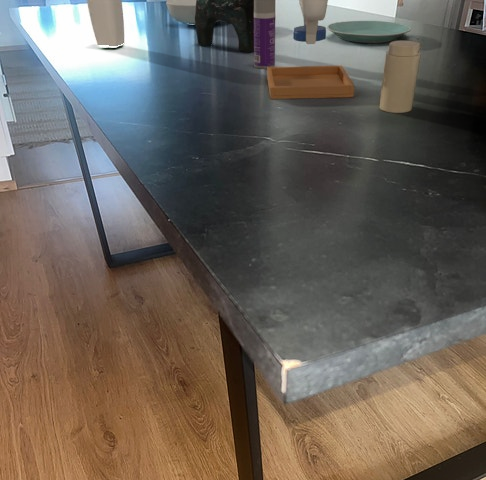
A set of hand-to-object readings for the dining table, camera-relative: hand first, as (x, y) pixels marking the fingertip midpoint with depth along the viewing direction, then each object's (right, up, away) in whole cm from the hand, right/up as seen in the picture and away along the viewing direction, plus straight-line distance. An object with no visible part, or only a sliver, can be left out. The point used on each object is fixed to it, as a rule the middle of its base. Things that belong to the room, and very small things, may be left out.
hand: (309, 39), depth 100 cm
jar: (+14, -15, -7) cm, 22 cm away
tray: (0, -7, +5) cm, 9 cm away
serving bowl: (-26, +37, +67) cm, 81 cm away
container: (-8, +3, +20) cm, 22 cm away
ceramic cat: (-17, +15, +36) cm, 43 cm away
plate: (+21, +21, +43) cm, 52 cm away
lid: (0, +1, -1) cm, 2 cm away
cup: (-48, +17, +41) cm, 65 cm away
